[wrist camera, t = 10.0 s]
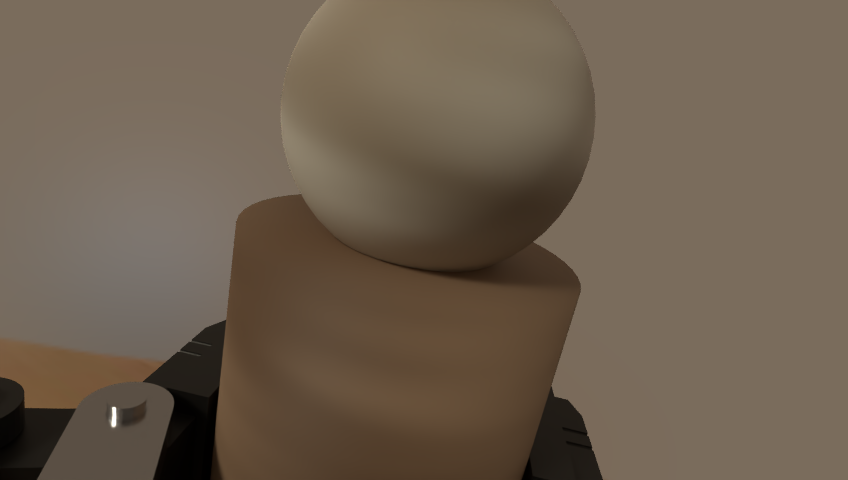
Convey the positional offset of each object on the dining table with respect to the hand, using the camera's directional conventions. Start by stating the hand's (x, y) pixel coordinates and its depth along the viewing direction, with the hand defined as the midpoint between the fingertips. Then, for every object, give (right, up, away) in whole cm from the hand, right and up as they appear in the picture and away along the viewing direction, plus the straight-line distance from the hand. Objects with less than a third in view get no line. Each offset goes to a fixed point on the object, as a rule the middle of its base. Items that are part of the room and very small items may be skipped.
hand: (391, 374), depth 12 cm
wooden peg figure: (-2, -8, 0) cm, 8 cm away
